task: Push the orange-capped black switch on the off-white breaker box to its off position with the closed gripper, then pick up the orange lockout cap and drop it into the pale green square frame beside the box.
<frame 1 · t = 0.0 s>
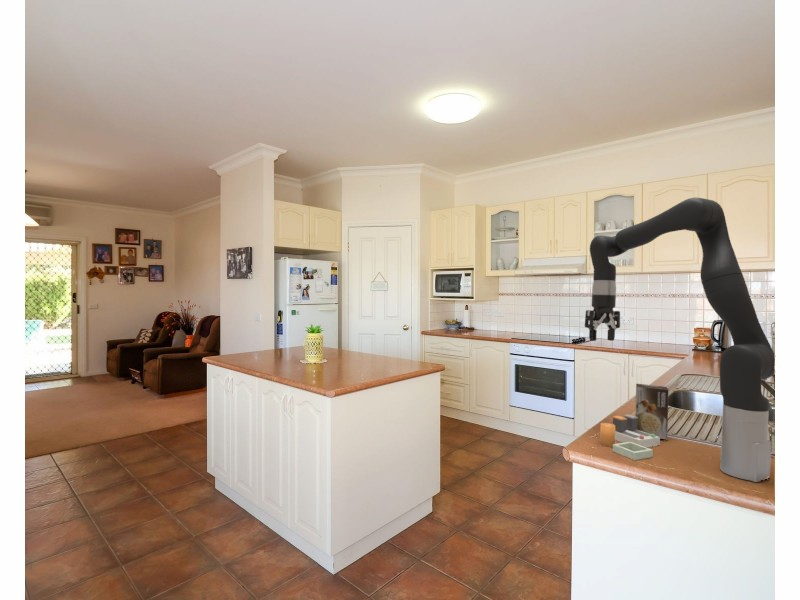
hand: (601, 340, 154), 29 cm above the table, tool pointing down, fingers open, 8 cm apart
pale green square frame: (632, 454, 126), on the table
breaker box: (633, 441, 138), on the table
lockout cap: (607, 444, 134), on the table
coffee box: (650, 436, 144), on the table
tagged breaker: (619, 423, 139), point 5 cm above the table, slide at 0.0 cm
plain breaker: (630, 422, 141), point 5 cm above the table, slide at 0.0 cm
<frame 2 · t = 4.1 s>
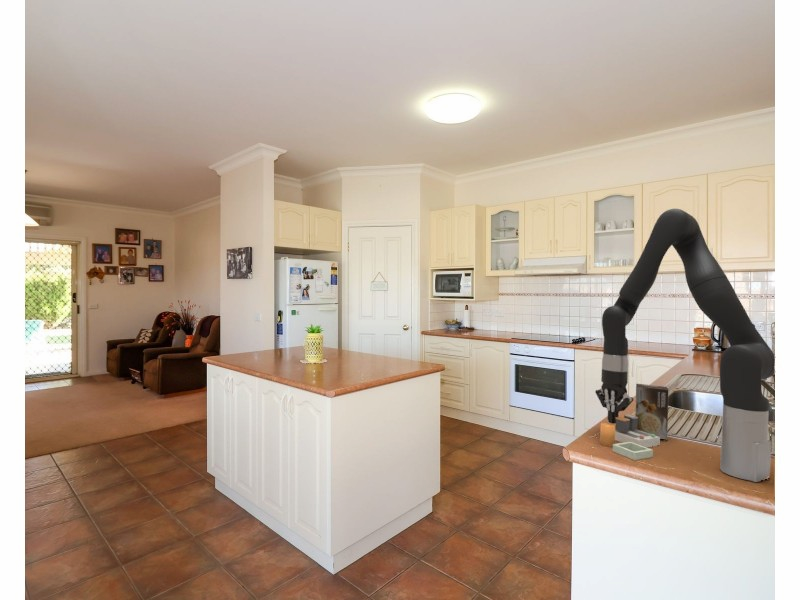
hand: (612, 422, 142), 4 cm above the table, tool pointing down, fingers closed
tagged breaker: (622, 424, 138), point 5 cm above the table, slide at 1.0 cm, touching gripper
everything else where it was.
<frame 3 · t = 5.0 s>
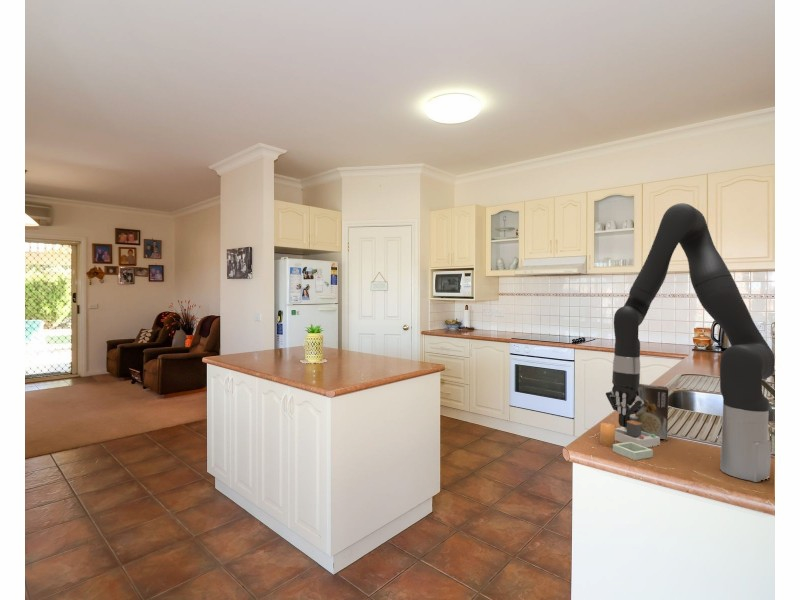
hand: (623, 426, 138), 4 cm above the table, tool pointing down, fingers closed
tagged breaker: (633, 428, 135), point 5 cm above the table, slide at 5.0 cm, touching gripper
everything else where it was.
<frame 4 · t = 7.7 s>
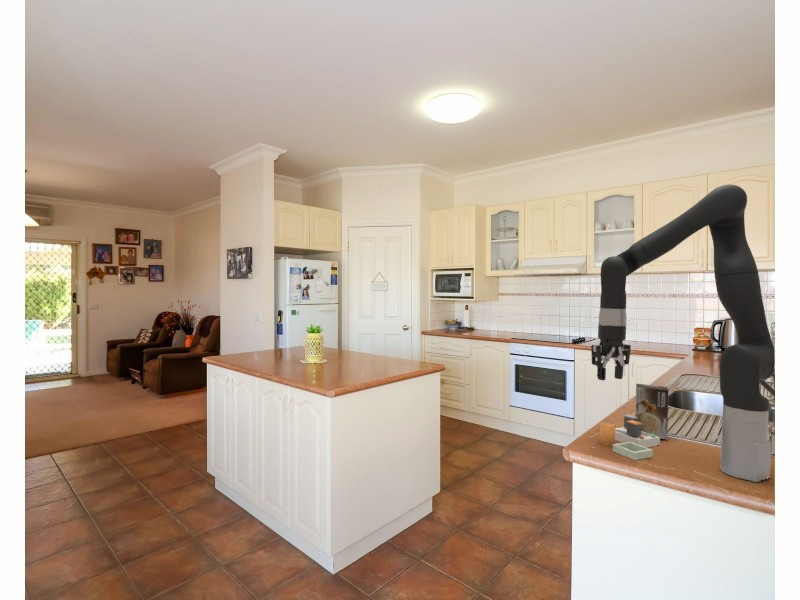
hand: (609, 379, 133), 20 cm above the table, tool pointing down, fingers open, 6 cm apart
tagged breaker: (634, 428, 135), point 5 cm above the table, slide at 5.1 cm
everything else where it was.
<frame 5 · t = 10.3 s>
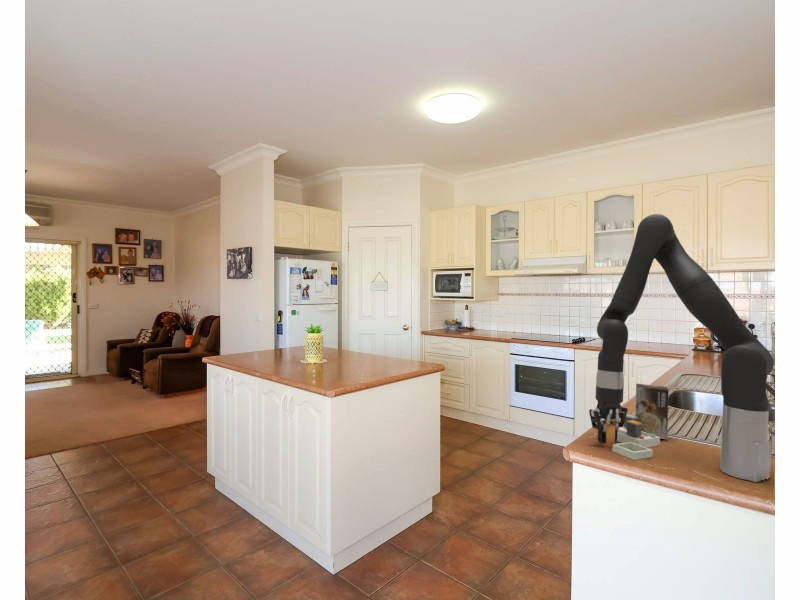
hand: (607, 441, 134), 1 cm above the table, tool pointing down, fingers closed on lockout cap, 4 cm apart
lockout cap: (607, 444, 134), on the table, touching gripper
everything else where it was.
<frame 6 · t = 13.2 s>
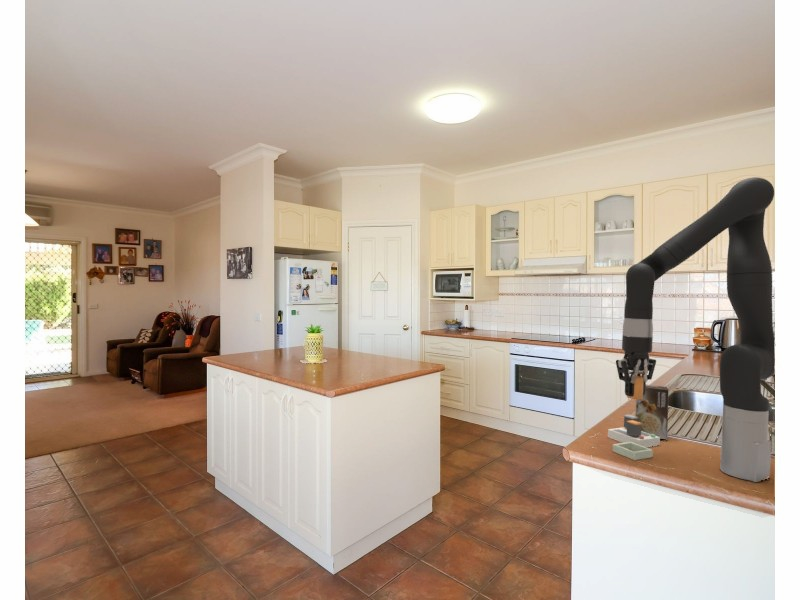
hand: (634, 395, 126), 17 cm above the table, tool pointing down, fingers closed on lockout cap, 4 cm apart
lockout cap: (634, 397, 126), point 16 cm above the table, touching gripper
everything else where it was.
when the fingers open (3 cm above the table, at t = 16.0 s): lockout cap drops 2 cm, resting in pale green square frame.
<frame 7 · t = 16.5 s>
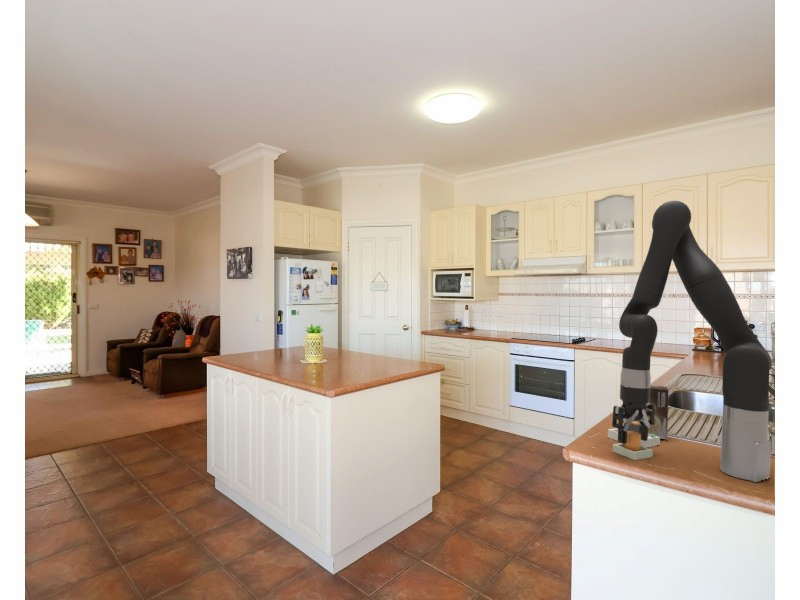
hand: (632, 441, 126), 4 cm above the table, tool pointing down, fingers open, 8 cm apart
lockout cap: (631, 454, 126), resting in pale green square frame
everything else where it was.
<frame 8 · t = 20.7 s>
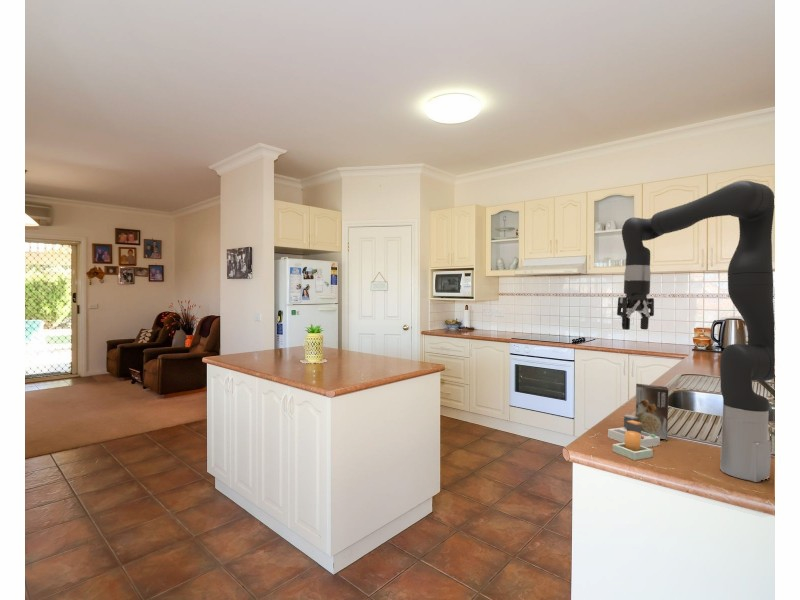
hand: (635, 329, 145), 34 cm above the table, tool pointing down, fingers open, 8 cm apart
nothing on the table moved.
at the end: tagged breaker slide at 5.1 cm; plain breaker slide at 0.0 cm; lockout cap 0.1 cm off-centre on the pale green square frame, point 0.0 cm above the pale green square frame's base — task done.
